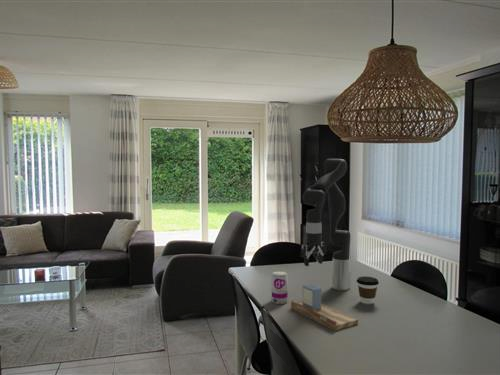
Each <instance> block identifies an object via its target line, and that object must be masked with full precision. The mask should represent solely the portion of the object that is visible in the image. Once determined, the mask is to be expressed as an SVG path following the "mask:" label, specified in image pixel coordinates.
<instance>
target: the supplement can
mask: <svg viewBox="0 0 500 375" xmlns="http://www.w3.org/2000/svg"><path fill="white" fill-rule="evenodd" d="M288 278H289V276H288V274H287V272H286V271H283V270H277V271H276V270H275V271H274V272H272V274H271V302H272V303H273V304H276V305H284V304H286V303H287V302H288V300H289V299H288V296H289V294H288V293H289V292H288V291H289V290H288V289H289V288H288V287H289V283H288V282H289V281H288V280H289V279H288Z"/></svg>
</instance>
